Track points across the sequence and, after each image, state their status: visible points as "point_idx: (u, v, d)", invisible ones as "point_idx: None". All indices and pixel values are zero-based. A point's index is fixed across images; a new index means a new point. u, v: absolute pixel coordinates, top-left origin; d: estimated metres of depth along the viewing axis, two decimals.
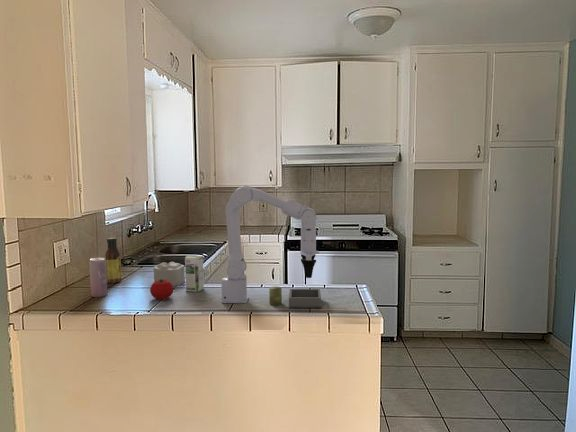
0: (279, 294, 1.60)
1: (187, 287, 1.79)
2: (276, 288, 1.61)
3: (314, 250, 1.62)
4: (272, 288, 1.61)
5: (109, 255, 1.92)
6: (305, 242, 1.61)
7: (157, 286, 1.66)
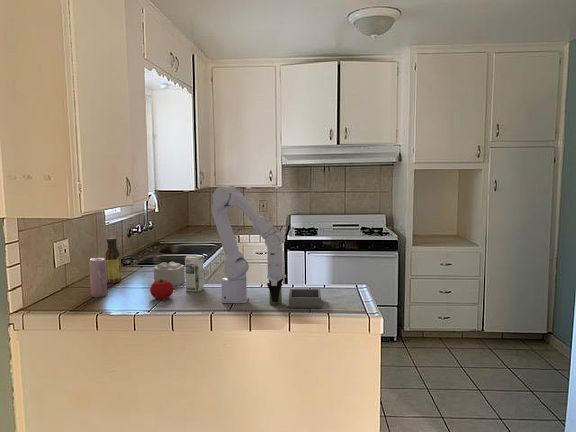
0: (279, 294, 1.60)
1: (187, 287, 1.79)
2: None
3: (281, 274, 1.60)
4: None
5: (109, 255, 1.92)
6: (271, 266, 1.58)
7: (157, 286, 1.66)
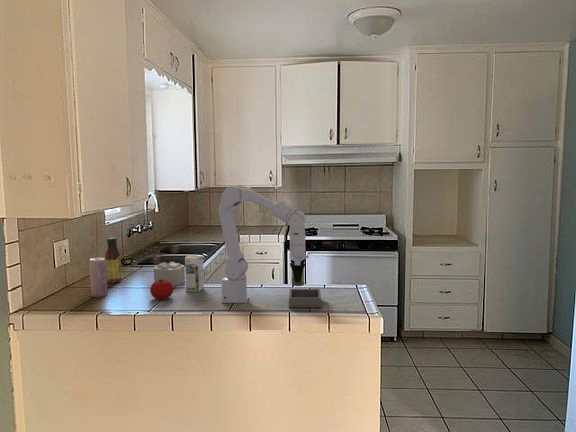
0: (302, 274, 1.59)
1: (187, 287, 1.79)
2: None
3: (303, 254, 1.58)
4: None
5: (109, 255, 1.92)
6: (294, 246, 1.57)
7: (157, 286, 1.66)
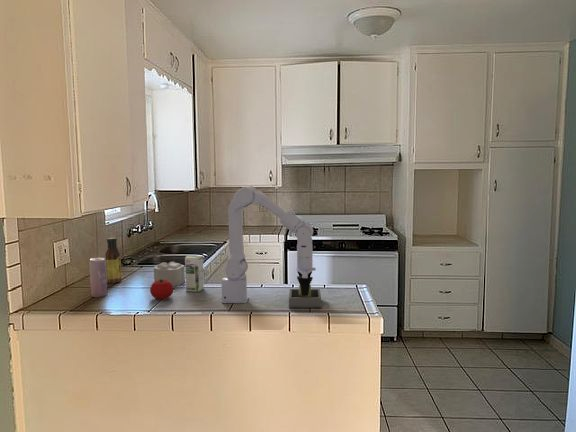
0: (309, 292, 1.60)
1: (187, 287, 1.79)
2: None
3: (310, 267, 1.59)
4: None
5: (109, 255, 1.92)
6: (301, 259, 1.58)
7: (157, 286, 1.66)
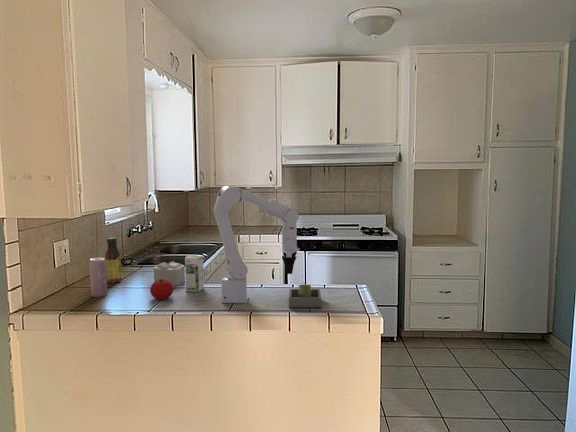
0: (309, 292, 1.60)
1: (187, 287, 1.79)
2: (305, 286, 1.61)
3: (295, 247, 1.70)
4: (301, 286, 1.61)
5: (109, 255, 1.92)
6: (286, 240, 1.69)
7: (157, 286, 1.66)
